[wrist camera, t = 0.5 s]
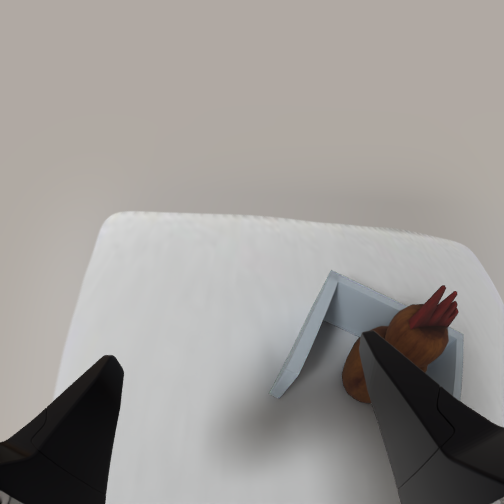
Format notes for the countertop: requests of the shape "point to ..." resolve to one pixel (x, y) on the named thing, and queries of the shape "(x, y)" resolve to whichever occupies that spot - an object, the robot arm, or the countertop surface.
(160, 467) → the countertop surface
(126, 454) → the countertop surface
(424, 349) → the wooden figurine
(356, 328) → the cubby
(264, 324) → the countertop surface
